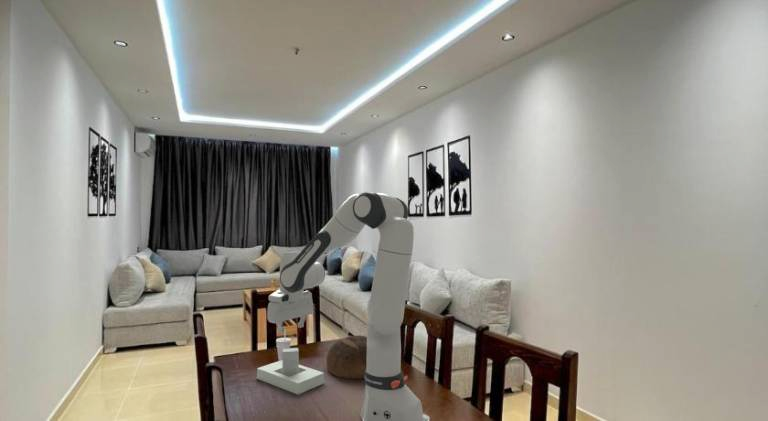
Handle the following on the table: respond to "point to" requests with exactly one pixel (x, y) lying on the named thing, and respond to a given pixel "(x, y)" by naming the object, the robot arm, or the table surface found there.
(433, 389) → the table surface
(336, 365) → the bread
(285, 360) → the skincare box
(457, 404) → the table surface
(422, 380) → the table surface
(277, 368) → the white rectangular holder
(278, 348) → the smoothie
